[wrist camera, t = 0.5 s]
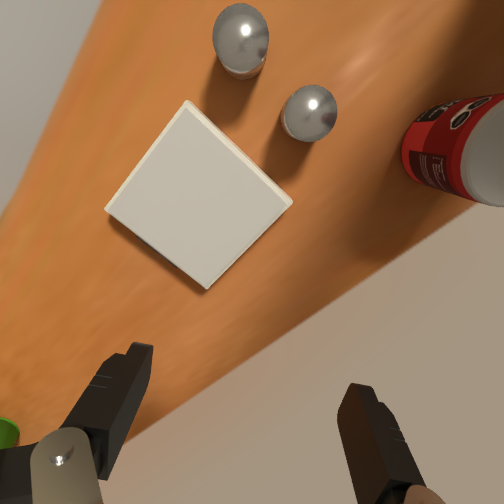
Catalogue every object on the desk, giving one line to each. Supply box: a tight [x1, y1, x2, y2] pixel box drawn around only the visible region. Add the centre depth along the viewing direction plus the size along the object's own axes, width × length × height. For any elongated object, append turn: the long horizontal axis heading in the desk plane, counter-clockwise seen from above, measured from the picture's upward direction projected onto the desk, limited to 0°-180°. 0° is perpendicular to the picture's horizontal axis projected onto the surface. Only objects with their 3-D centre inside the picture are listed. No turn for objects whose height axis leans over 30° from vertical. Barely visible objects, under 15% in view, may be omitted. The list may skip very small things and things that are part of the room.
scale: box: [104, 100, 293, 289], centre depth 32 cm, size 15×14×3 cm
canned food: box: [401, 93, 504, 207], centre depth 26 cm, size 8×8×11 cm
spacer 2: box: [280, 85, 337, 142], centre depth 28 cm, size 4×4×5 cm
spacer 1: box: [213, 3, 269, 80], centre depth 26 cm, size 4×4×5 cm
